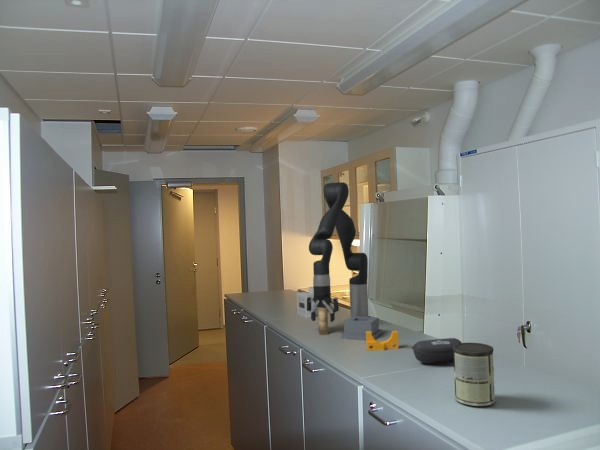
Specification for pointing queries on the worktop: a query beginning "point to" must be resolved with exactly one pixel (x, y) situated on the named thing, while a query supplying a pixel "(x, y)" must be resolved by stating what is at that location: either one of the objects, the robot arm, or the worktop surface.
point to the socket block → (361, 327)
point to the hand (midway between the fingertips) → (322, 321)
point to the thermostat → (305, 303)
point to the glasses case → (435, 350)
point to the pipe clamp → (381, 345)
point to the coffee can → (474, 374)
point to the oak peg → (323, 321)
